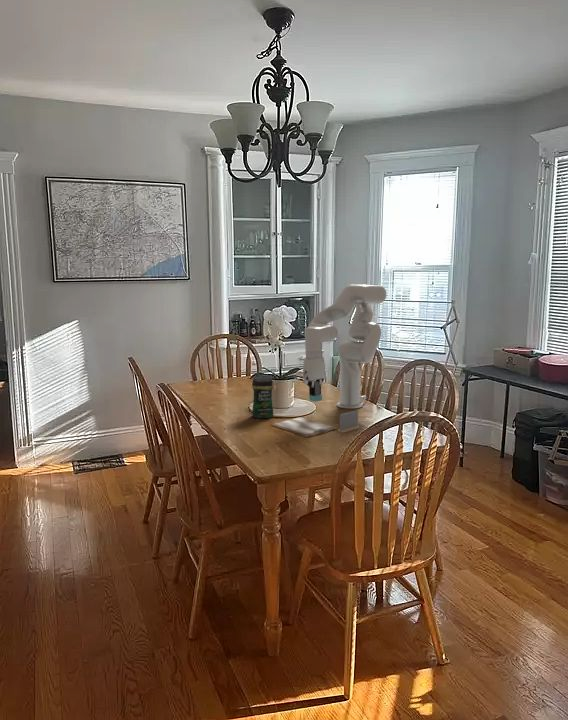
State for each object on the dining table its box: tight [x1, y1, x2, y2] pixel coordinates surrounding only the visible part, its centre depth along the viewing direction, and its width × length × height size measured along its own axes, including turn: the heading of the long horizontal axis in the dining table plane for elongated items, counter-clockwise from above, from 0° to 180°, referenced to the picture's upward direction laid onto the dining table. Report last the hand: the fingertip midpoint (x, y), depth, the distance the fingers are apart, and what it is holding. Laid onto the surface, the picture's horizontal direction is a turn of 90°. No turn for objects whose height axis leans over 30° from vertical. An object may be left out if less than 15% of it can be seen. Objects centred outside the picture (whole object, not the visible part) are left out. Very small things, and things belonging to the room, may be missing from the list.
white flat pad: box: [271, 416, 338, 439], centre depth 250 cm, size 17×23×2 cm
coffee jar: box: [251, 376, 274, 419], centre depth 265 cm, size 10×8×19 cm
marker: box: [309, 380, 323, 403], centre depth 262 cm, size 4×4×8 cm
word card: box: [337, 409, 361, 434], centre depth 245 cm, size 10×3×8 cm, turn 129°
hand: (315, 394), depth 263 cm, fingers closed on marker, 3 cm apart
